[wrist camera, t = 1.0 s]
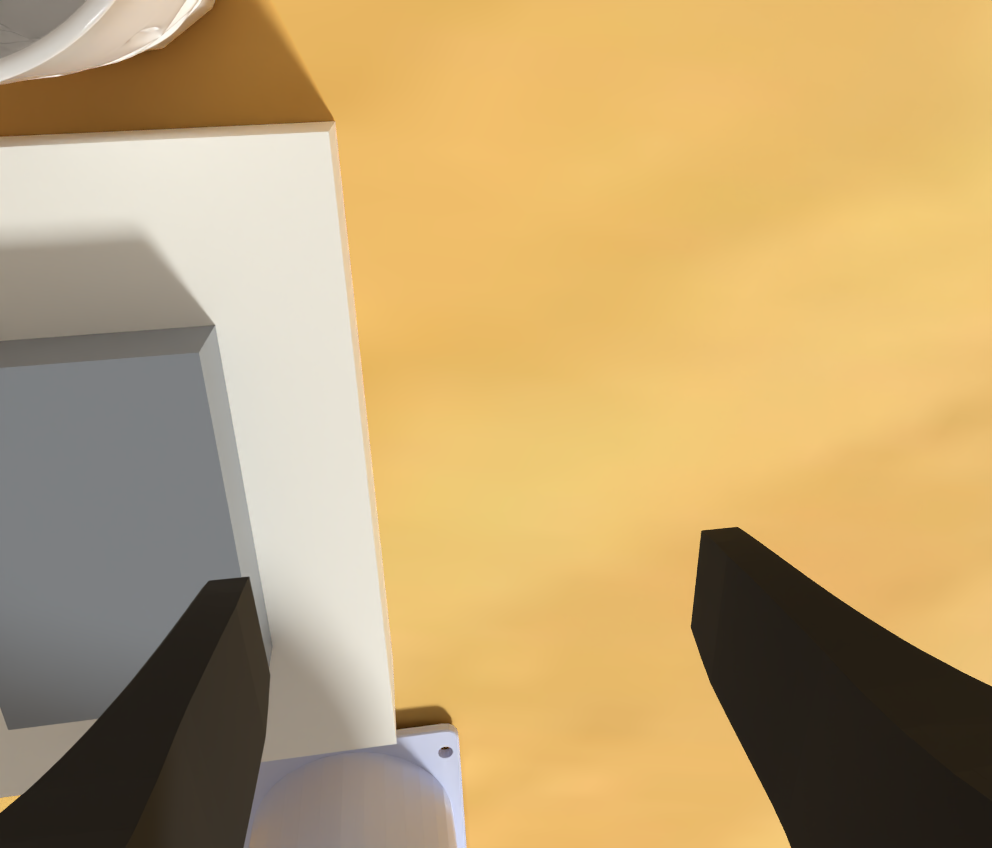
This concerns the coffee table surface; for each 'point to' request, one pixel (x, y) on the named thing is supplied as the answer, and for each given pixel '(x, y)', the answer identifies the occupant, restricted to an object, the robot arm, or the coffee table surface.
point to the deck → (228, 377)
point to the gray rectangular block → (110, 510)
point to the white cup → (86, 33)
